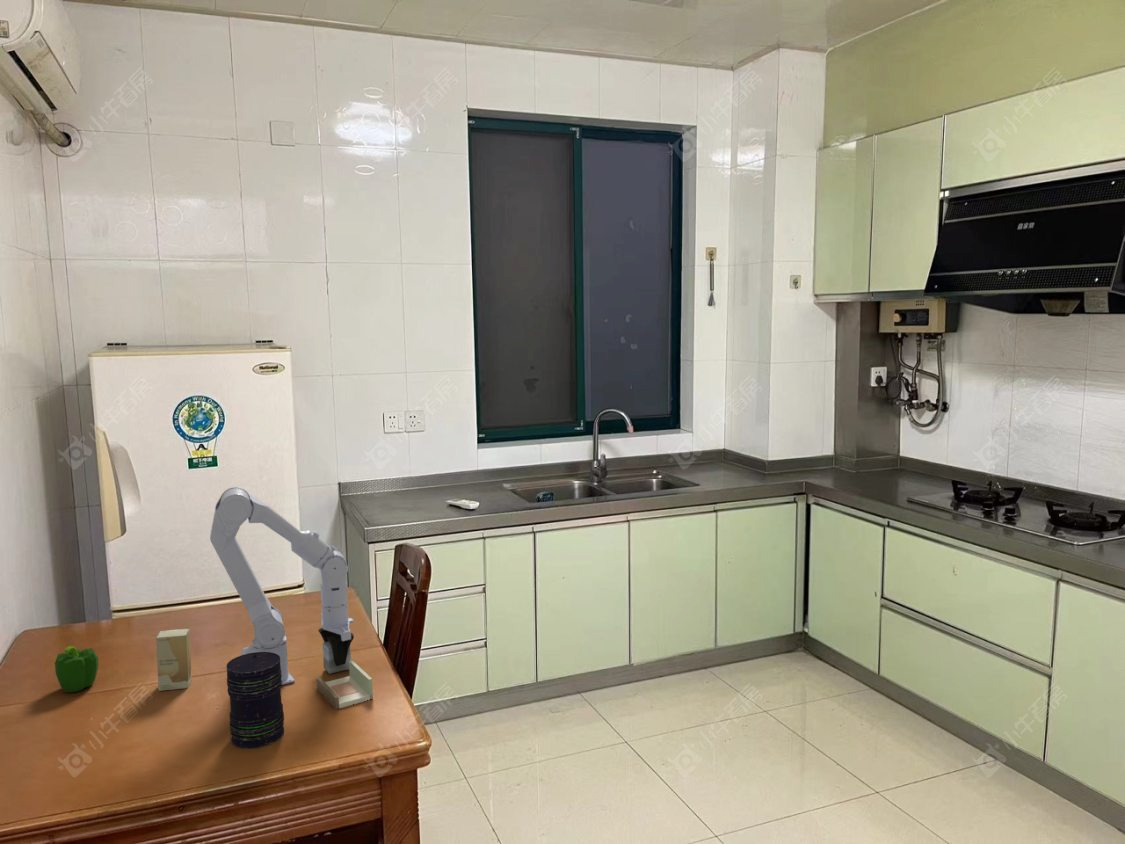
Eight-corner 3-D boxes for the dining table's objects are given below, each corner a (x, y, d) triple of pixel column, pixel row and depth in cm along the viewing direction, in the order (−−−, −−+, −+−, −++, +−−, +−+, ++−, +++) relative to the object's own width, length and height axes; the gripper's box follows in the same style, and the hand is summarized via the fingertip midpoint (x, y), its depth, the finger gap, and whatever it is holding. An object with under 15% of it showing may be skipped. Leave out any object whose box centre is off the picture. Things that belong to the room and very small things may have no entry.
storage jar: (283, 744, 154) (279, 668, 153) (228, 752, 152) (223, 675, 150) (285, 720, 164) (281, 648, 162) (233, 728, 161) (228, 655, 160)
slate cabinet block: (329, 673, 185) (328, 648, 184) (323, 667, 188) (322, 642, 187) (351, 668, 188) (350, 643, 187) (345, 662, 191) (344, 637, 190)
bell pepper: (83, 677, 186) (80, 634, 185) (107, 683, 182) (104, 640, 181) (46, 692, 179) (42, 647, 177) (70, 699, 175) (66, 654, 174)
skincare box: (158, 692, 178) (154, 637, 176) (162, 683, 182) (158, 630, 181) (190, 688, 180) (186, 634, 178) (193, 680, 184) (189, 627, 182)
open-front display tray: (335, 709, 168) (334, 688, 168) (317, 688, 178) (316, 668, 178) (372, 699, 173) (372, 678, 172) (352, 679, 183) (351, 660, 182)
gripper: (363, 609, 182) (365, 667, 184) (340, 592, 194) (343, 647, 196) (332, 615, 178) (334, 675, 180) (311, 597, 190) (313, 654, 192)
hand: (337, 661), depth 188 cm, fingers closed on slate cabinet block, 4 cm apart
